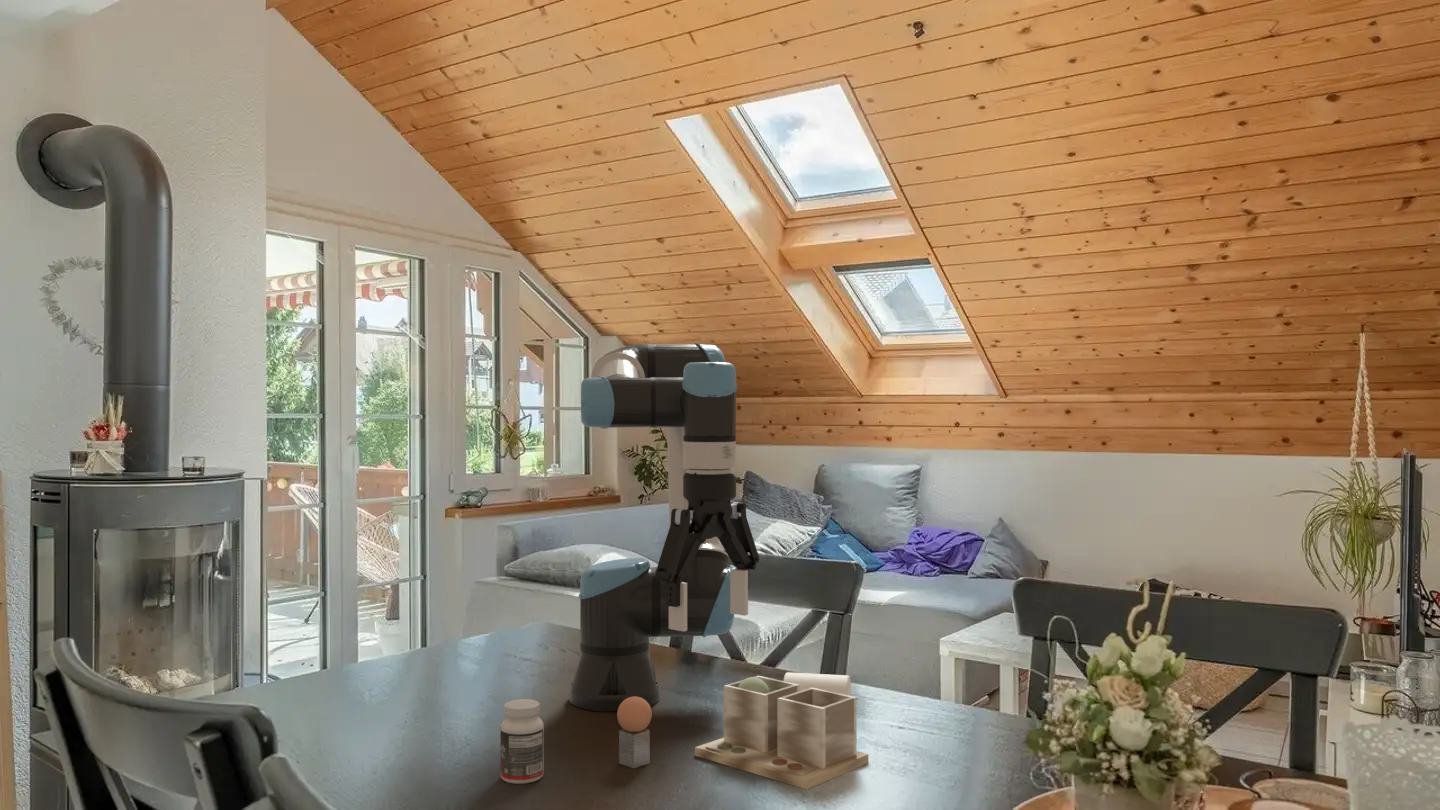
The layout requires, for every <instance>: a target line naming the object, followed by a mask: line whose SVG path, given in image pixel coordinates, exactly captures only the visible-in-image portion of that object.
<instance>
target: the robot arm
mask: <svg viewBox="0 0 1440 810" xmlns="http://www.w3.org/2000/svg"><path fill="white" fill-rule="evenodd" d="M591 371H592V372H591V374H590V377H586V378H584V379H582V381H581V383H580V385H581V386H580V418H581V419H580V421H581V423H582V425H583V426H584V427H587V428H600V429H603V430H604V429H609V428H667V432H666V433H667V435H666V438H667V474H668V475H667V477H668V480H667V481H668V515H669V517H668V520H669V521H668V523H669V524H668V525H669V529H668V532H667V535H666V539H665V541H664V545H663V547H662V550H661V554H660V557H659V561H658V564H657V567H656V566H655V567H654V566H653V567H652V566H651V563H650V561H649V559H648V558H645V557H637V558H636V557H635V558H634V557H629V558H628V557H627V558H619V559H613V560H607V561H603V562H599V563H595V564H592V565H590V566H588V567H587V568H585V569H584V570H583V571H582V573H581V576H580V582H579V583H580V584H579V594H578V599H579V601H580V606H579V607H580V608H579V609H580V611H579V615H580V617H579V622H580V623H579V624H580V625H579V656H578V657H579V658H578V659H577V664H576V668H575V671H574V676H573V680H572V682H571V683H570V685H569V702H570V704H571V705H573V706H574V707H576V708H579V709H584V710H589V711H596V712H617V711H618V708H619V706H620V704H621V703H622V702H623V701H624V700H625V699H627V698H629V697H633V696H636V697H641V698H643V699H644V700H646V701H647V702H648V704H649V705H650V706H652V705H654V704H657V702H659V701H660V683H659V681H658V680H657V677H656V671H655V668H654V665H653V661H652V657H651V655H650V638H657V637H658V638H661V637H662V638H665V637H666V638H669V637H702V638H706V637H707V636H709V637H710V636H722V635H725V634H727V633H729V631H730V630H731V629H732V626H733V623H734V619H735V615H737V616H738V615H739V616H748V615H749V588H750V570H751V571H752V570H753V571H754V570H755V569H756V568H757V564H758V563H759V562H760V555H759V552H758V550H757V546H756V543H755V540H754V537H753V534H752V530H751V528H750V525H749V522H748V521H749V520H748V518H747V506H746V503H745V502H738V501H733V500H734V499H735V498H737V475H736V473H735V472H732V471H733V470H735V469H736V468H737V459H736V457H737V455H736V454H737V453H736V452H737V451H736V450H737V449H736V447H737V446H736V443H737V442H736V441H737V436H736V433H737V430H736V429H737V426H736V424H737V423H736V422H737V390H738V384H737V375H736V374H737V373H736V367H735V365H734V363H733V364H732V363H731V362H726V357H725V356H724V353H723V351H722V350H721V349H720V347H718V346H717V345H714V344H701V343H698V342H696V343H693V344H692V343H691V344H685V343H684V344H683V343H682V344H679V343H672V344H670V343H668V344H667V343H652V344H651V343H638V344H630V345H626V346H623V347H620V348H617V349H614V350H612V351H609V352H607V353H605V354H604V355H603V356H601V358H599V359H598V360H597V362H595V364H594V366H593V369H592V370H591ZM720 544H721V546H722V547H723V548H721V547H720ZM729 559H730V561H731V562H732V564H729V563H730V562H729Z"/></svg>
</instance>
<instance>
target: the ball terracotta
mask: <svg viewBox="0 0 1440 810" xmlns="http://www.w3.org/2000/svg"><path fill="white" fill-rule="evenodd" d="M616 712H617V713H616V716H617V721H618V723H619V725H620V726H621V728H622V729H625V730H627V731H629V732H639V731H642V730H643V729H647V727H648V726H649V725H650V723H651V720H652V715H653V714H652V713H653V712H652V707H651V705H649V704H648V702H647V701H646V700H644V699H643V698H641V697H636V696H633V697H629V698H627V699H625V700H624V701H623V702H622V703H621V704H620V706H619V708H618V711H616Z"/></svg>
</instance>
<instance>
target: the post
mask: <svg viewBox="0 0 1440 810" xmlns="http://www.w3.org/2000/svg"><path fill="white" fill-rule="evenodd" d="M618 732H619V733H618V736H619V737H618V738H619V739H618V764H620V765H623V766H626V767H629V768H630V769H631V768H632V769H637V768H640V767H642V766H645V765H648V764H650V763H651V761H650V760H651V758H650V755H651V751H650V749H651V746H650V744H651V743H650V741H651V738H650V737H651V736H650V735H651V732H650V729H648V728H645V729H643V730H642V731H639V732H629V731H627V730H625V729H624V728H622V729H620V730H618Z"/></svg>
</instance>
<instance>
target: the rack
mask: <svg viewBox="0 0 1440 810" xmlns="http://www.w3.org/2000/svg"><path fill="white" fill-rule="evenodd" d="M754 677H756V678H759V679H761V680H763V681H764V682H765V683H766V685H767V686H768V688H769V693H766V694H763V693H759V692H755V691H750V690H746V689H742V688H738V686H739V684H740V683H741V682H742V681H743V680H744V679H741V680H739V681H735V682H732V683H729V684H726V685H723V737H721V738H718V739H716V740H712V741H710V742H706V743H703V744H700V745H697V746H695V747H694V757H698V758H702V759H704V760H708V761H712V762H715V763H718V764H721V765H725V766H728V767H731V768H735V769H737V770H741V771H744V772H748V773H751V774H755V775H757V776H758V775H759V776H762V777H765V778H769V779H772V780H774V781H777V782H781V783H784V784H787V785H791V786H795V787H797V788H802V789H804V790H809V789H811V788H813V787H816V786H818V785H820V784H823V783H826V782H827V781H829V780H832V779H835V778H836V777H839V776H841V775H843V774H845V773H848V772H851V771H853V770H855V769H857V768H860V767H862V766H864V765H867V764H868V763H869V753H865V752H862V751H858V750H857V702H858V701H857V696H854V695H851V696H849V695H844V694H840V693H835V692H830V691H826V690H821V689H817V688H812V687H811V688H808V689H805V690H802V691H800V685H799V684H794V683H790V682H785V681H783V680H779V679H776V678H770V677H766V676H761V675H756V676H754Z"/></svg>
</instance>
